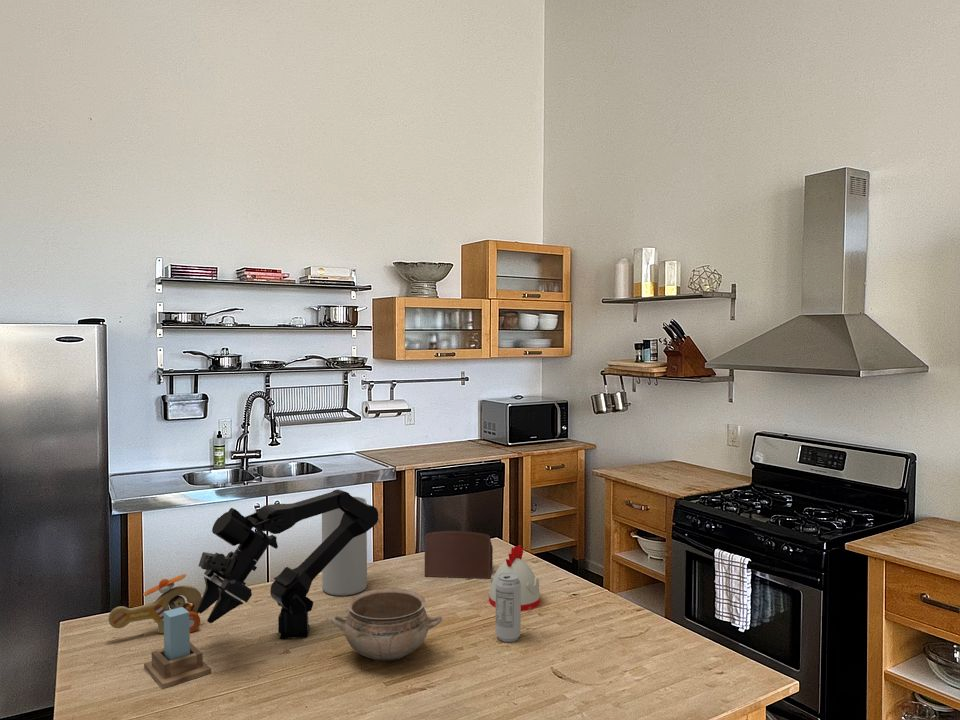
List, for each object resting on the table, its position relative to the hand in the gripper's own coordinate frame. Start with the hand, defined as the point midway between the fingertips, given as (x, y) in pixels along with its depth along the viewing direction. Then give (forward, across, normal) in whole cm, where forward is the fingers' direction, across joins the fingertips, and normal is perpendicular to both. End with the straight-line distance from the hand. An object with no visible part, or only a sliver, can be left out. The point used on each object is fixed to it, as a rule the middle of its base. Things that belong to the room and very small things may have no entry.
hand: (203, 617), depth 159 cm
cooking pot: (-13, +19, +35) cm, 42 cm away
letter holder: (-44, -17, +65) cm, 80 cm away
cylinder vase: (-23, -24, +38) cm, 51 cm away
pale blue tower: (+11, 0, +1) cm, 11 cm away
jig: (+12, 0, +2) cm, 12 cm away
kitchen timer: (-42, +10, +67) cm, 80 cm away
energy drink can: (-31, +27, +57) cm, 70 cm away
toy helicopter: (+9, -22, +1) cm, 24 cm away
